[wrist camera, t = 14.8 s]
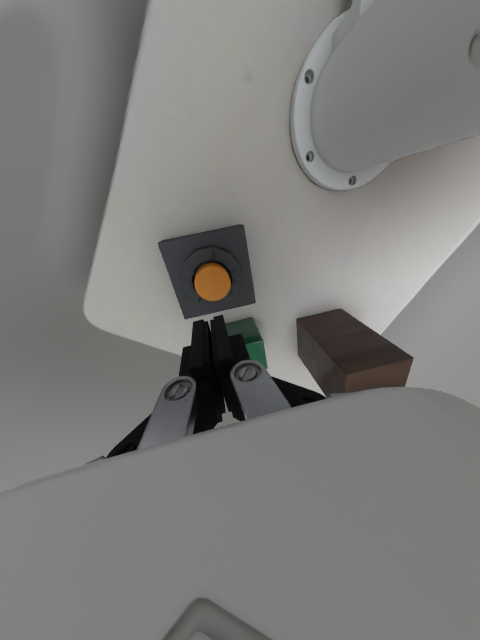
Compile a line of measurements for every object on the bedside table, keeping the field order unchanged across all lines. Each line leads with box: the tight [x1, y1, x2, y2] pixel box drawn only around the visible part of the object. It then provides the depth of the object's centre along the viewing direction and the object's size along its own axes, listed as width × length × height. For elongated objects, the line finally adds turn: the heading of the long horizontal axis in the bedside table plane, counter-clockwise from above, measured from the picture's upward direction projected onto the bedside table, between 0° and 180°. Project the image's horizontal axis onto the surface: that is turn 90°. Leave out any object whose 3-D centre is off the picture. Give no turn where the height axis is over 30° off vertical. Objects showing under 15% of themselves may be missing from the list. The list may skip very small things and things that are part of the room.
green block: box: [225, 318, 267, 369], centre depth 27 cm, size 4×4×6 cm
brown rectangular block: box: [297, 309, 413, 397], centre depth 26 cm, size 7×7×12 cm
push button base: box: [158, 224, 256, 319], centre depth 23 cm, size 9×9×4 cm
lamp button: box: [194, 263, 231, 301], centre depth 21 cm, size 4×4×2 cm
